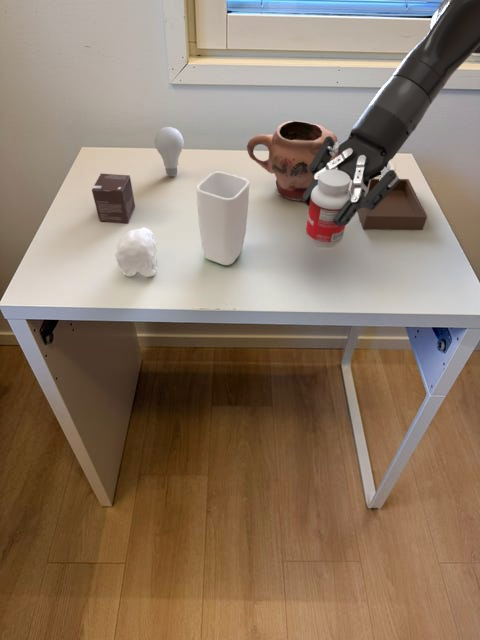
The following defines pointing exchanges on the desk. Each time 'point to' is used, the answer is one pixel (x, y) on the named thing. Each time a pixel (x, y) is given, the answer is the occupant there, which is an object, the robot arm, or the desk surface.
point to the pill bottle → (327, 208)
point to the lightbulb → (169, 148)
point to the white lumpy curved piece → (137, 252)
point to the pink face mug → (291, 155)
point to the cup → (222, 215)
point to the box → (114, 197)
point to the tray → (394, 209)
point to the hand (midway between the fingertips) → (321, 213)
